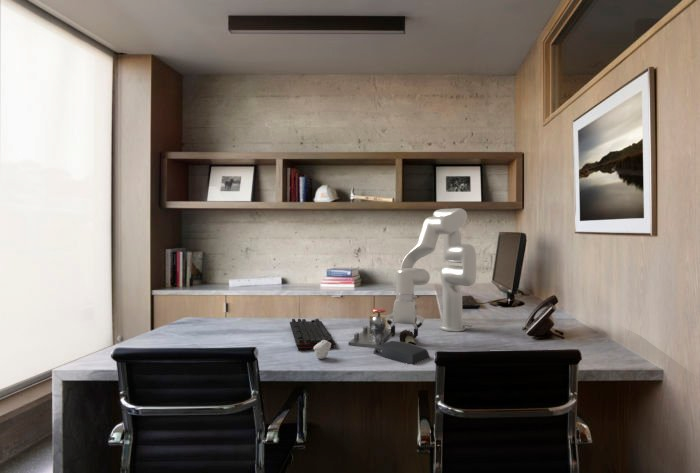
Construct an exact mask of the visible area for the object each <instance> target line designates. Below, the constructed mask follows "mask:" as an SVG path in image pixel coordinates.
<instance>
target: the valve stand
mask: <svg viewBox="0 0 700 473" xmlns="http://www.w3.org/2000/svg"><path fill="white" fill-rule="evenodd" d="M386 312H387V308H385V307H384V308H382V307H375V308H374V307H373V308H371V313H372V314H371V315H369V326H367V325H364V326H363V327H362V329H363V330H362V331H361V332H355V333H354V334H353V338H352V339H351V340H350V341H348V346H354V347H365V348H374V349H375V347H376V346H377V345H380V344H383V343H385V341H386V340H387V339H388V338H389V337H390V336H392V334H391V328H389V324H388V323H387V320H386V318H385V316H386V315H387V314H382V313H386Z"/></svg>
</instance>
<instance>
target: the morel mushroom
mask: <svg viewBox="0 0 700 473" xmlns="http://www.w3.org/2000/svg"><path fill="white" fill-rule="evenodd" d="M399 342H404V343H409V344H413V345H416V346H418V344H417V342H416V338H414V331H411V330H410V329H409V330H407V329H403V330H402V331H400V332H399Z"/></svg>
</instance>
